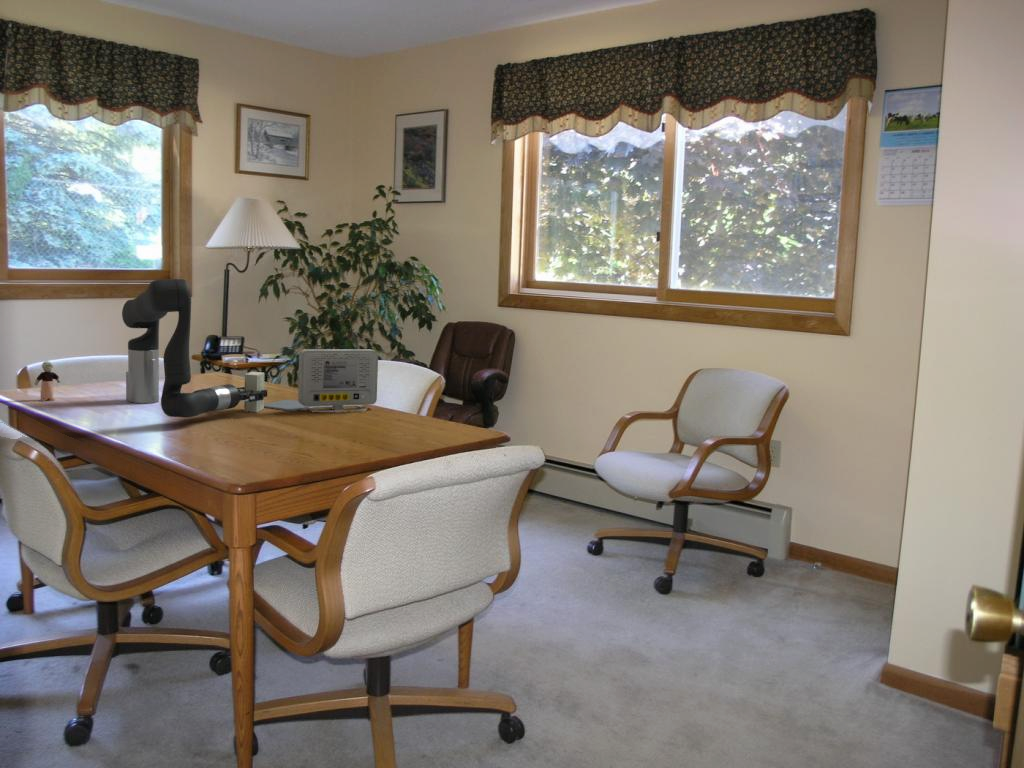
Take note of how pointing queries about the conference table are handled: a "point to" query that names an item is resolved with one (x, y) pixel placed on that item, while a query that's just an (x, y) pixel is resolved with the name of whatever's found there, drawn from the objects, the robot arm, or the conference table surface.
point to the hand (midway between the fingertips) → (255, 391)
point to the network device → (337, 378)
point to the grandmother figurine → (47, 381)
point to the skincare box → (256, 384)
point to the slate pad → (286, 405)
